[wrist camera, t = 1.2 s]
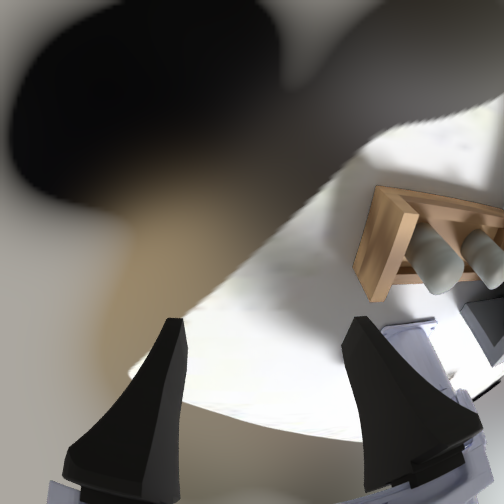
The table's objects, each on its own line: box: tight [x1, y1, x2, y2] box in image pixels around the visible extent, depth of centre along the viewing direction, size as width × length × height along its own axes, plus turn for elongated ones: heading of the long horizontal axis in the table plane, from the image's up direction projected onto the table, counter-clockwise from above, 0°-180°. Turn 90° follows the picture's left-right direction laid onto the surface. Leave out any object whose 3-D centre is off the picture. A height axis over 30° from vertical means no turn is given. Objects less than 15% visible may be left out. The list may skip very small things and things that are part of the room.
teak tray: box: [353, 186, 504, 302], centre depth 18 cm, size 7×16×6 cm, turn 86°
